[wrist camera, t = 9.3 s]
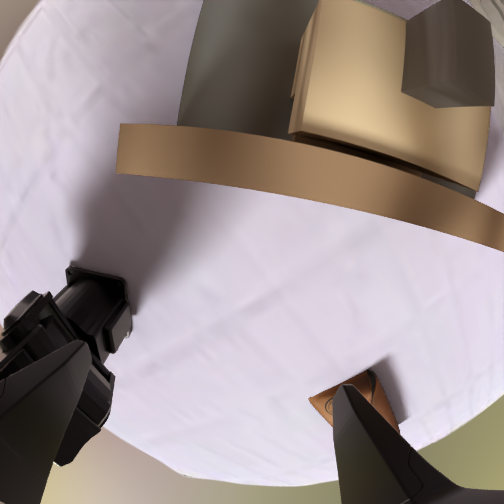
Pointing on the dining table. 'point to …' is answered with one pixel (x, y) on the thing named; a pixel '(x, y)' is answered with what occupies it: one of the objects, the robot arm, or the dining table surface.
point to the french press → (492, 16)
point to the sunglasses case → (367, 387)
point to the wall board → (282, 130)
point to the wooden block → (399, 85)
